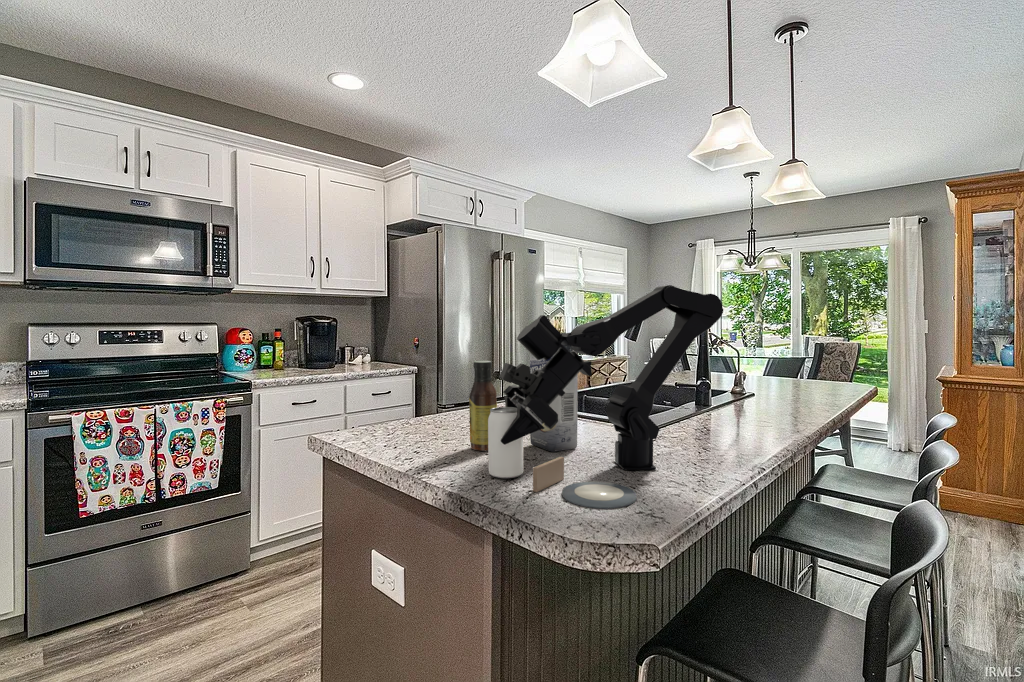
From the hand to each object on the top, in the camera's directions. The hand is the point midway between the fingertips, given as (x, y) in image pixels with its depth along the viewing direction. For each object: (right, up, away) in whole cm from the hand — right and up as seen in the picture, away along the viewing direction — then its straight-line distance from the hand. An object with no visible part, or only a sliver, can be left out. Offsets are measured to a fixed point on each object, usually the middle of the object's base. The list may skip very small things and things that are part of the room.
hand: (498, 438), depth 96 cm
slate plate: (+17, -7, -11) cm, 21 cm away
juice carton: (+12, -6, +23) cm, 27 cm away
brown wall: (+9, -7, -5) cm, 13 cm away
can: (+1, -7, +1) cm, 7 cm away
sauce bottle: (-4, -6, +21) cm, 23 cm away
